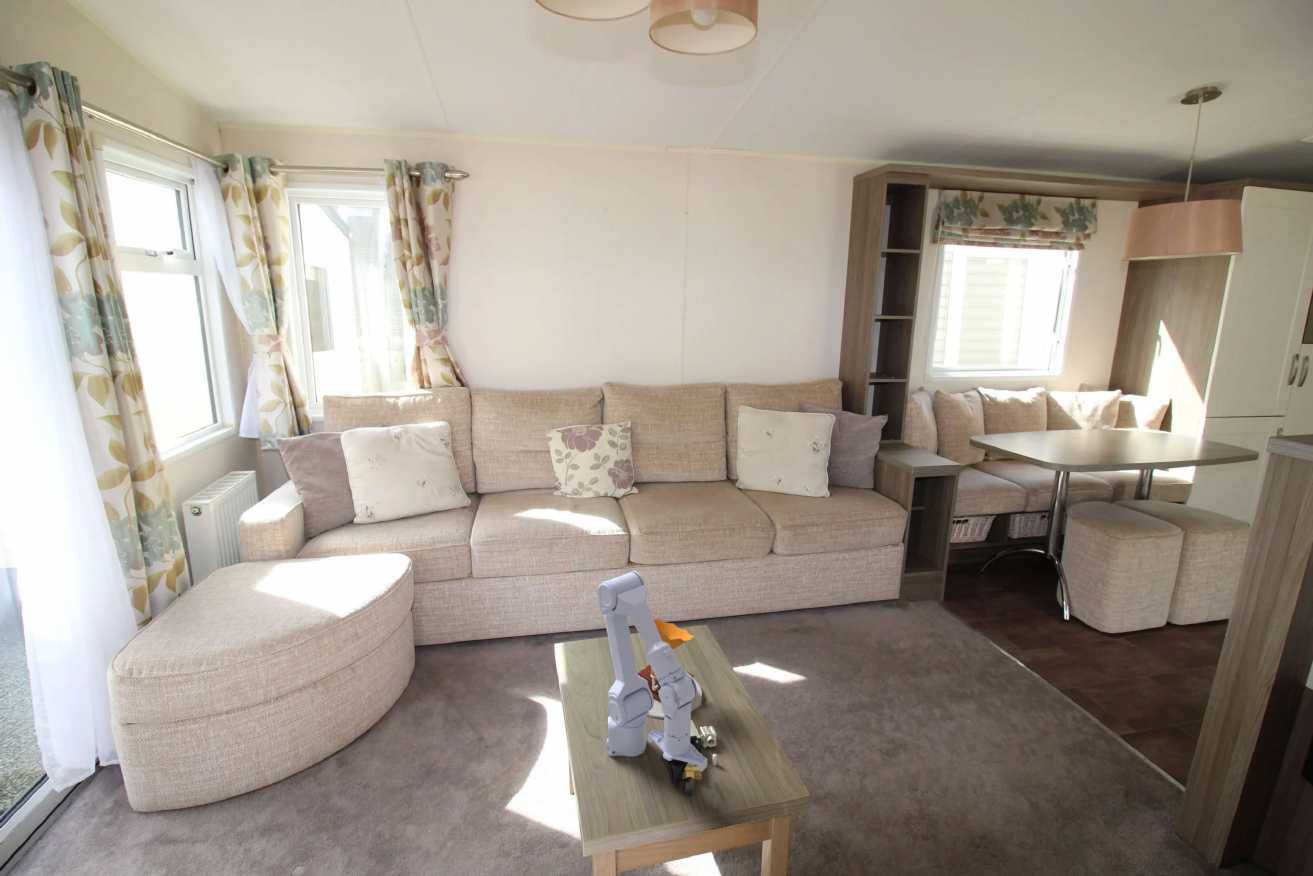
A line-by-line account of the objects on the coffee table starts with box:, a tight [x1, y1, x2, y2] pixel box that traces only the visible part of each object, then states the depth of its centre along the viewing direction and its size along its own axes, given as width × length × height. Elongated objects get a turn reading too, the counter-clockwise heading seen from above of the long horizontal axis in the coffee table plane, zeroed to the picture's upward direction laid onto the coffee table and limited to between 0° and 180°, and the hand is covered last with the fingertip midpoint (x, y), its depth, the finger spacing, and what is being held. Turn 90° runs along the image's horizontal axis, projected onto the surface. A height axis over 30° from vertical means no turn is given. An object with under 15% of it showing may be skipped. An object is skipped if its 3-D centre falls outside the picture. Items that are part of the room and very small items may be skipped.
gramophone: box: [637, 618, 703, 720], centre depth 162 cm, size 20×20×25 cm
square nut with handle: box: [682, 753, 703, 796], centre depth 135 cm, size 5×10×3 cm, turn 176°
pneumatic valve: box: [690, 718, 718, 754], centre depth 145 cm, size 6×12×12 cm
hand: (676, 782), depth 133 cm, fingers closed
